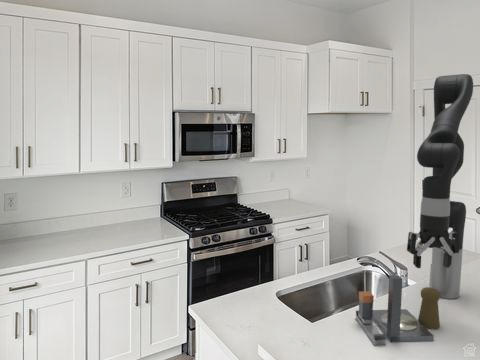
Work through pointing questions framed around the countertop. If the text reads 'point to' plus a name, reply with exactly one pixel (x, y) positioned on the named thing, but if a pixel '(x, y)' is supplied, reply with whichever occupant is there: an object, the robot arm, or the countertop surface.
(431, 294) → the cork
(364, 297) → the lever
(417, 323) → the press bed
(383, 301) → the countertop surface
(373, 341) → the lever rail
